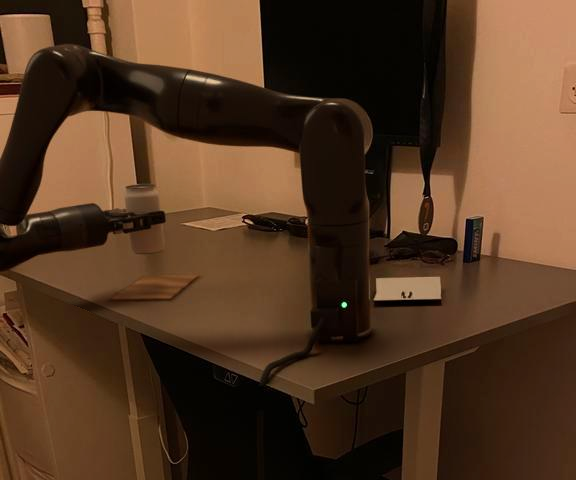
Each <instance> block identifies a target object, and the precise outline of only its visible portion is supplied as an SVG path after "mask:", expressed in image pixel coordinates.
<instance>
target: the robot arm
mask: <svg viewBox="0 0 576 480" xmlns="http://www.w3.org/2000/svg"><path fill="white" fill-rule="evenodd" d="M19 89H20V90H19V93H18V99H17V103H16V107H15V111H14V114H13V118H12V121H11V126H10V129H9V132H8V136H7V139H6V142H5V144H4V148H3V150H2V153H1V156H0V274H3V273H5V272H8V271H11V270H12V269H14V268H15V267H18V266H20V265H22V264H23V263H26V262H28V261H30V260H32V259H34V258H36V257H39V256H42V255H43V256H44V255H49V254H54V253H61V252H62V253H63V252H73V251H79V250H85V249H90V248H95V247H96V248H97V247H100V246H101V247H102V246H104V245H105V244H106V243H107V241H108V236H109V234H110V233H112V235H121V234H125V235H126V234H127V235H128V234H130V232H135V231H140V230H146V229H150V228H151V225H156V224H162V225H163V224H165V223H166V222H167V221H166V213H165V211H164V210H161V211H155V212H149V213H146V212H143V213H138V214H136V213H135V212H134V211H127V212H126V208H122V209H121V208H119V207H116V208H112V209H104V210H103V209H102V208H101V207H100V206H99V205H98V204H97V203H95V202H91V203H83V204H77V205H71V206H64V207H63V206H62V207H58V208H54V209H51V210H47V211H42V212H35V213H34V212H33V213H29V211H30V209H31V206H32V205H33V203H34V200H36V199H35V198H36V196H37V194H38V192H39V190H40V187H41V183H42V180H43V175H44V167H45V159H46V155H47V151H48V148H49V146H50V144H51V142H52V139H53V138H54V136H55V135H56V134H57V132H58V131H59V129H60V128H61V126H62V125H63V124H64V123H65V121H66V120H67V119H68V118H69V117H73V116H76V115H80V114H81V113H82V114H83V113H86V112H103V113H111V114H112V113H113V114H120V115H126V116H129V117H133V118H136V119H139V120H140V121H143V122H144V123H146V124H148V125H149V126H151V127H153V128H155V129H157V130H159V131H161V132H163V133H165V134H167V135H170V136H172V137H176V138H179V139H182V140H188V141H192V142H197V143H201V144H207V145H213V146H214V145H215V146H224V147H239V148H240V147H241V148H243V147H246V148H247V147H248V148H250V147H251V148H259V147H260V148H275V149H281V150H285V151H290V152H293V153H297V154H299V166H300V178H301V179H300V180H301V192H302V200H303V205H304V207H305V210H306V219H307V220H306V221H307V240H308V241H307V244H308V246H307V247H308V265H309V288H310V307H311V309H310V328H311V335H310V336H309V339H308V342H307V344H306V346H305V348H304V349H303V350H300V351H297V352H293V353H291V354H288V355H286V356H284V357H281V358H279V359H278V360H274V361H271V362H270V363H268V364H267V365H266V366H265V368H264V370H263V372H262V375H261V377H260V381H259V386H266V385H267V383H268V380H269V377H270V375H271V373H272V371H273V370H274V369H276V368H279V367H282V366H284V365H285V364H288V363H289V362H292V361H295V360H297V359H302V358H305V357H307V356H308V355H309V354H310V353H311V352H312V350H313V349H314V346H315V344H316V340H317V342H319V343H324V342H325V343H356V342H358V341H359V340H361V339H363V338H366V337H368V336H369V335H370V334H371V333H372V325H371V277H370V276H371V271H370V270H371V268H370V267H371V266H370V265H371V263H370V257H371V256H370V254H369V249H370V200H369V199H368V194H367V188H366V156H365V155H366V154H367V153H368V151H369V148H370V147H371V145H372V141H373V134H374V133H373V125H372V122H371V119H370V117H369V116H368V113H367V112H366V110H365V109H364V108H363V107H362V106H361V105H359V103H357V102H355V101H353V100H351V99H347V98H340V97H336V98H330V97H315V96H305V95H293V94H288V93H284V92H280V91H279V92H278V91H275V90H272V89H268V88H266V87H262V86H260V85H256V84H254V83H249V82H246V81H243V80H239V79H236V78H232V77H227V76H225V75H219V74H215V73H211V72H206V71H200V70H195V69H190V68H184V67H178V66H177V67H176V66H170V65H161V64H151V63H140V62H139V63H138V62H133V61H129V60H128V61H127V60H125V59H121V58H118V57H115V56H112V55H108V54H105V53H102V52H100V51H97V50H93V49H90V48H88V47H85V46H82V45H78V44H75V43H74V44H73V43H62V44H58V45H52V46H47V47H44V48H40V49H39V50H37V51H36V52H35V53H33V54H32V55H31V56H30V58H29V60H28V62H27V64H26V67H25V70H24V73H23V77H22V80H21V84H20V88H19ZM128 215H130V216H131V217H128ZM140 219H142V223H143V224H140ZM3 225H4V226H7V227H15V232H16V235H15V236H9V235H8V233H7V232H6V230H5V228H4V227H3ZM264 412H265V411H264V410H263V409H262V410H261V409H259V410H257V409H256V459H257V460H256V463H257V480H265V461H264V459H265V457H264V455H265V454H264V417H265V416H264V415H265V413H264Z"/></svg>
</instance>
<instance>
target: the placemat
mask: <svg viewBox="0 0 576 480" xmlns="http://www.w3.org/2000/svg"><path fill="white" fill-rule="evenodd" d="M198 278H199V275H198V274H187V275H186V274H183V275H179V274H177V275H143V276H142V277H141V278H139V279H138V280H136V281H135V282H134V283H132V284H131V285H129V286H128V287H126V288H125V289H123V290H122V291H120V292H119V293H118V294H116V295H115V296H113V297H112V298H111V301H114V302H115V301H172V299H174V298H175V297H176V296H177V295H178V294H179V293H181V292H182V291H183V290H185V288H187V287H188V286H189V285H190V284H192V283H193V282H194V281H195V280H196V279H198Z"/></svg>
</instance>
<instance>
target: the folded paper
mask: <svg viewBox="0 0 576 480" xmlns="http://www.w3.org/2000/svg"><path fill="white" fill-rule="evenodd" d="M375 284H376V285H375V287H376V293H375V295H374V298H373V301H398V300H399V301H404V300H407V301H408V300H409V301H410V300H442V296H441V295H442V284H441V277H440V276H416V277H415V276H414V277H413V276H412V277H410V276H409V277H380V278H378V277H376V278H375Z"/></svg>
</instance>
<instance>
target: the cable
mask: <svg viewBox="0 0 576 480" xmlns="http://www.w3.org/2000/svg"><path fill="white" fill-rule="evenodd" d="M369 255H370V256H369V257H370V264H372V263H373V264H374V263H375V262H377V261H378V260H380V259H384V258H389V257H394V258H395V259H407V258H413V257H419V256H420V251H419V252H412V253H407V254H406V253H404V254H400V252H399V251H396V249H394V251H392V253H390V254H383V255H380V253H379V251H378V250H375V249H371V248H369Z"/></svg>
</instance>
